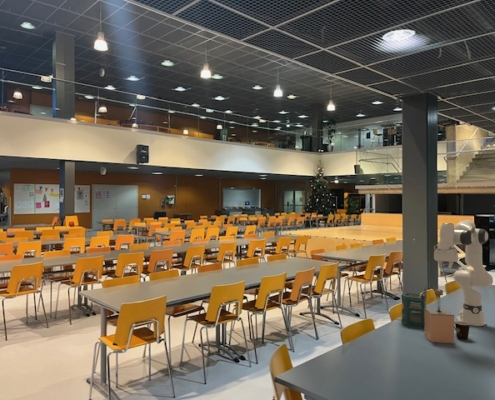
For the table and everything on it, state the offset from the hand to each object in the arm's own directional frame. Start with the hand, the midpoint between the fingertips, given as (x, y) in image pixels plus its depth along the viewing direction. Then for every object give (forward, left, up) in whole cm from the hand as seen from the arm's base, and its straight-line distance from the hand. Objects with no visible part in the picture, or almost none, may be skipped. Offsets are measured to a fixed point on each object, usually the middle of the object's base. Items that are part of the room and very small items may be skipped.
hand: (445, 268), depth 249 cm
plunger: (-2, -3, -32) cm, 32 cm away
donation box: (-34, -11, -47) cm, 59 cm away
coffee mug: (-9, +13, -47) cm, 49 cm away
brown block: (-2, -3, -47) cm, 47 cm away
